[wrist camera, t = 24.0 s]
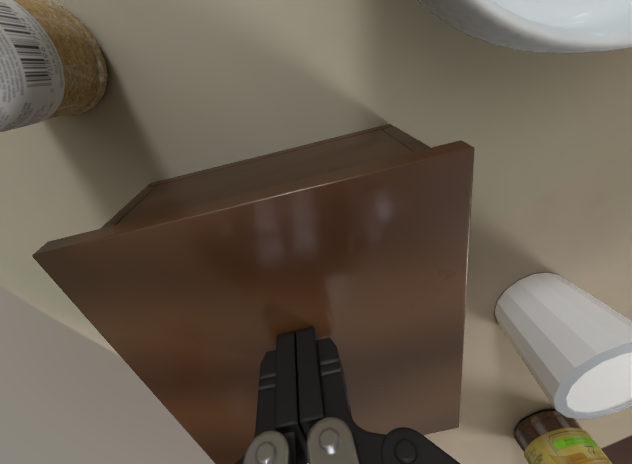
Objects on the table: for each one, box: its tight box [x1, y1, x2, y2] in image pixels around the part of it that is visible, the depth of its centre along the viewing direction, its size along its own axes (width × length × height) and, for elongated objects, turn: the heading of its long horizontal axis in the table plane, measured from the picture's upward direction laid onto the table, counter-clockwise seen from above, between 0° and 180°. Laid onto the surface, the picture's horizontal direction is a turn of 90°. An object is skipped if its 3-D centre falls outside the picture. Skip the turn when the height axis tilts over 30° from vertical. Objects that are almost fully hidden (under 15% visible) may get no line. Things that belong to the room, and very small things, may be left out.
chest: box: [101, 124, 431, 229], centre depth 18 cm, size 15×13×7 cm
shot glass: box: [495, 272, 632, 419], centre depth 21 cm, size 7×7×7 cm
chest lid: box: [33, 141, 474, 464], centre depth 14 cm, size 16×13×1 cm
